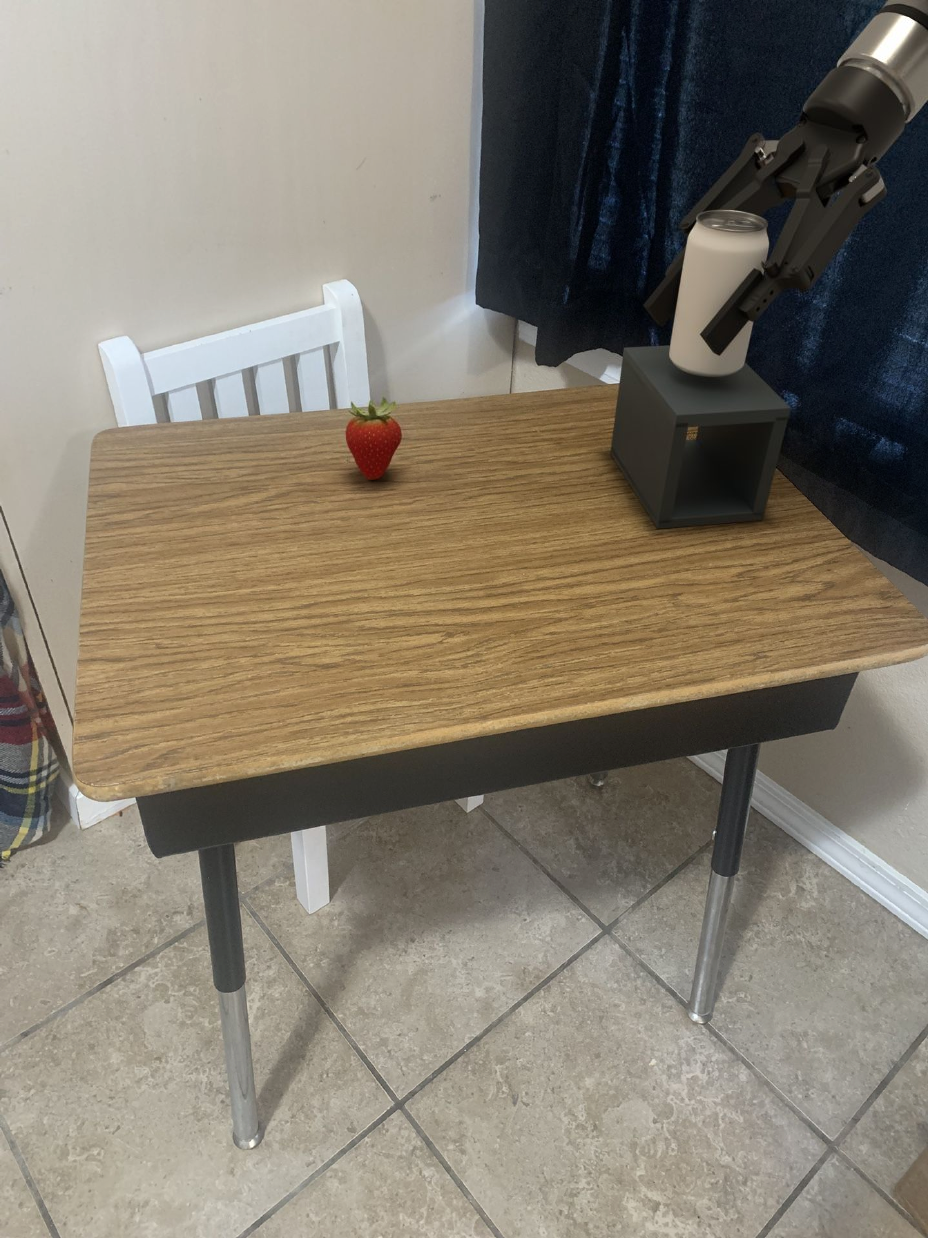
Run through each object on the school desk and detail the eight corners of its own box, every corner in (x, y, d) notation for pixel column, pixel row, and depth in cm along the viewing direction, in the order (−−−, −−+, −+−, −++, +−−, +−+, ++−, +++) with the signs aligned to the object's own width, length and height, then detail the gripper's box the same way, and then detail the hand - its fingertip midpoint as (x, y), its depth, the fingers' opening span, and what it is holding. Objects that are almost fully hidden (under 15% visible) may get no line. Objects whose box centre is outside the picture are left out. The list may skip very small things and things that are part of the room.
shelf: (763, 520, 88) (791, 407, 81) (657, 529, 86) (676, 414, 80) (704, 447, 99) (725, 342, 92) (609, 453, 97) (623, 347, 90)
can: (665, 346, 88) (687, 206, 80) (738, 350, 87) (767, 210, 80) (670, 376, 83) (694, 229, 75) (748, 381, 82) (779, 234, 75)
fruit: (396, 461, 95) (394, 384, 90) (407, 489, 91) (406, 409, 86) (343, 467, 94) (339, 389, 89) (353, 495, 90) (349, 415, 85)
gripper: (985, 155, 74) (781, 398, 78) (796, 107, 87) (629, 317, 91) (963, 81, 69) (745, 346, 72) (765, 42, 82) (588, 267, 85)
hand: (680, 329), depth 81 cm, fingers closed on can, 6 cm apart
